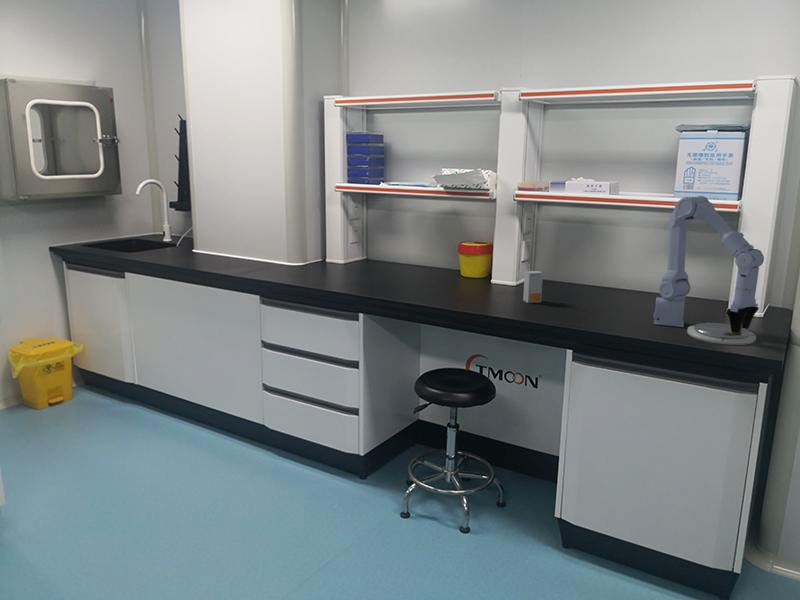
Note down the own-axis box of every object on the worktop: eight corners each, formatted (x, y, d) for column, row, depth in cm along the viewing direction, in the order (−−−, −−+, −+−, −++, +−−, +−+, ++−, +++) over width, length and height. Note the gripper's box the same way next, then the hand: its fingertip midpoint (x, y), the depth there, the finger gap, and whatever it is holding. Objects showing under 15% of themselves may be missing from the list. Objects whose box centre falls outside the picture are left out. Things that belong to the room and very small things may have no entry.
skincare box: (527, 303, 253) (529, 273, 250) (522, 300, 257) (524, 271, 254) (541, 302, 254) (543, 272, 251) (536, 299, 258) (538, 270, 255)
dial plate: (687, 340, 204) (688, 336, 204) (686, 325, 222) (687, 321, 222) (759, 348, 196) (759, 344, 196) (752, 331, 214) (752, 327, 214)
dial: (683, 327, 214) (685, 310, 212) (721, 323, 219) (723, 306, 217) (720, 340, 199) (723, 322, 198) (760, 336, 204) (763, 318, 203)
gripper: (750, 293, 193) (743, 337, 197) (768, 287, 203) (762, 328, 206) (725, 289, 198) (720, 332, 202) (744, 283, 208) (739, 324, 211)
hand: (739, 330), depth 204 cm, fingers open, 7 cm apart
